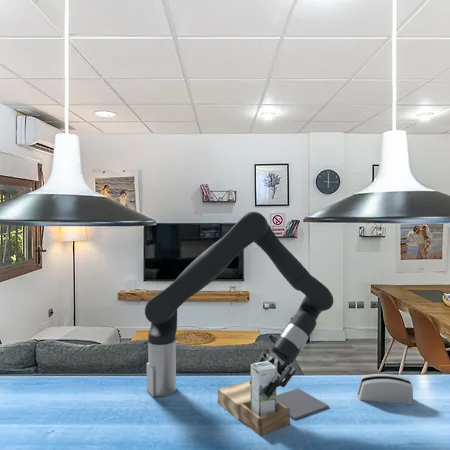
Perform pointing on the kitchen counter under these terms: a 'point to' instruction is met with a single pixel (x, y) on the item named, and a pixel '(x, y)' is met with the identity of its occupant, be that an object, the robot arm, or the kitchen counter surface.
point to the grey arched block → (385, 389)
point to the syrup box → (262, 388)
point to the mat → (300, 403)
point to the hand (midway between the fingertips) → (258, 390)
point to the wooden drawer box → (241, 409)
